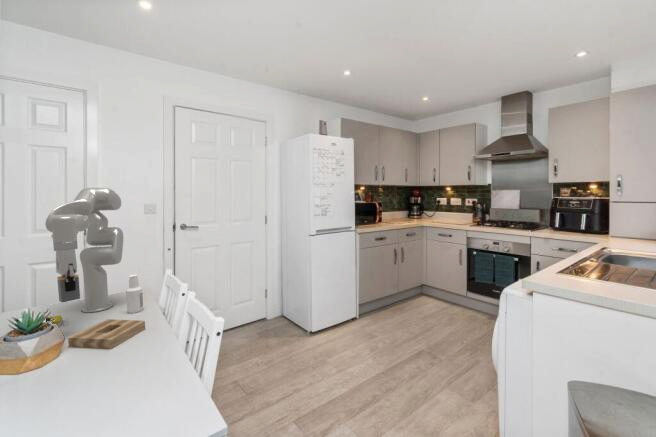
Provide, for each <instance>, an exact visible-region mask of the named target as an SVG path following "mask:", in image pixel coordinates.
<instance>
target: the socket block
mask: <svg viewBox="0 0 656 437" xmlns="http://www.w3.org/2000/svg"><path fill="white" fill-rule="evenodd" d="M144 330H146V321H145V320H132V319H111V318H107V319H105V320H103V321H100V322H98V323H97V324H93V325H92V326H90V327H87V328H85V329H83V330H80V331H79V332H77V333H75V334H73V335H70V336H68V337H67V341H68V344H67V346H68V348H70V347H71V348H86V349H87V348H89V349H108V350H112V349H114V348H115V347H117V346H118V345H121V344H122V343H124V342H125V341H127V340H129V339H131V338H132V337H134V336H135V335H137V334H139V333H140V332H143V331H144Z"/></svg>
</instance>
